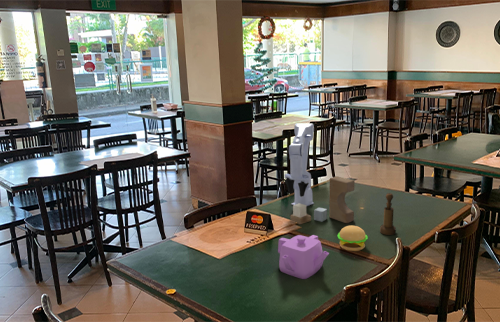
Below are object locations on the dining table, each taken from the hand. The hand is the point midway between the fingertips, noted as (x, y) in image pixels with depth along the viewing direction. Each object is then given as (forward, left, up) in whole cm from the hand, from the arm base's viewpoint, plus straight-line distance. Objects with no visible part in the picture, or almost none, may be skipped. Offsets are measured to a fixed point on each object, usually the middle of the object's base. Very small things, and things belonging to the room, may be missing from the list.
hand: (296, 194), depth 207 cm
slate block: (-3, +13, -11) cm, 17 cm away
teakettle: (+40, +41, -11) cm, 58 cm away
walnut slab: (+4, +7, -11) cm, 14 cm away
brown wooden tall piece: (-12, +44, -11) cm, 47 cm away
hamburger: (+11, +42, -11) cm, 44 cm away
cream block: (+5, +7, -8) cm, 11 cm away
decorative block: (-10, +20, -11) cm, 25 cm away
